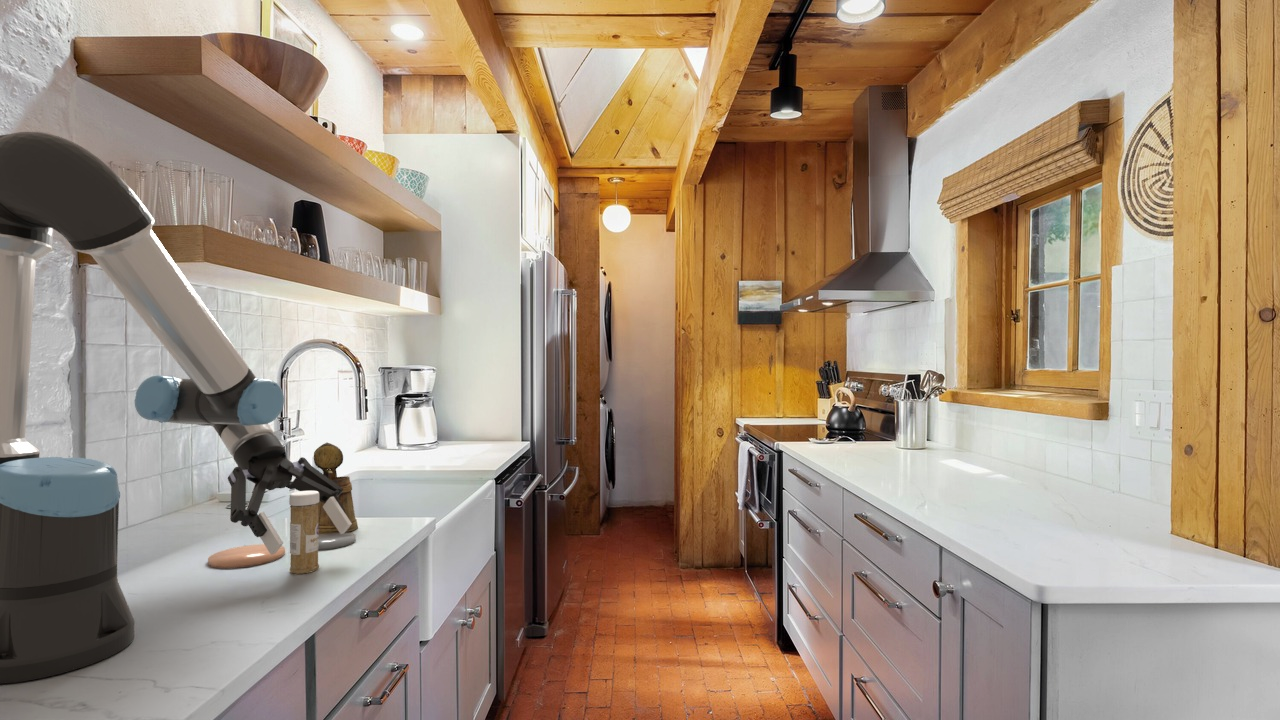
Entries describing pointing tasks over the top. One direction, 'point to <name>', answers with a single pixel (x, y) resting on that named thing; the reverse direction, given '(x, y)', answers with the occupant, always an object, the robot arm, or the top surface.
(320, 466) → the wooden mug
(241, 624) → the top surface
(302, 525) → the sprinkles bottle
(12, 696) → the top surface
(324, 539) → the slate coaster
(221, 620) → the top surface
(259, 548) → the terracotta coaster
